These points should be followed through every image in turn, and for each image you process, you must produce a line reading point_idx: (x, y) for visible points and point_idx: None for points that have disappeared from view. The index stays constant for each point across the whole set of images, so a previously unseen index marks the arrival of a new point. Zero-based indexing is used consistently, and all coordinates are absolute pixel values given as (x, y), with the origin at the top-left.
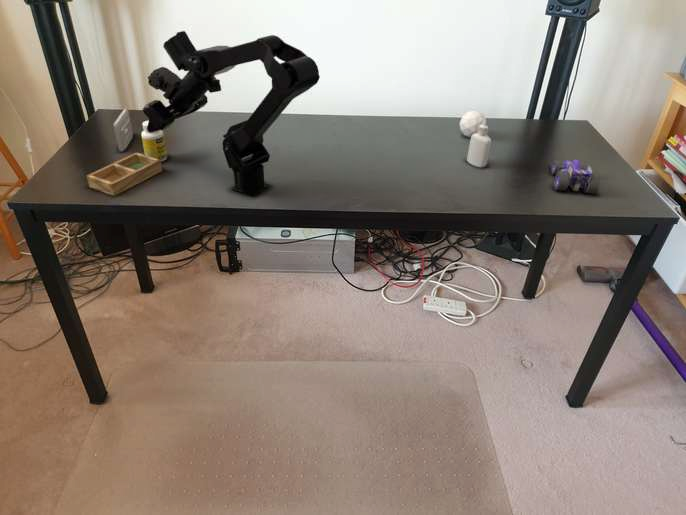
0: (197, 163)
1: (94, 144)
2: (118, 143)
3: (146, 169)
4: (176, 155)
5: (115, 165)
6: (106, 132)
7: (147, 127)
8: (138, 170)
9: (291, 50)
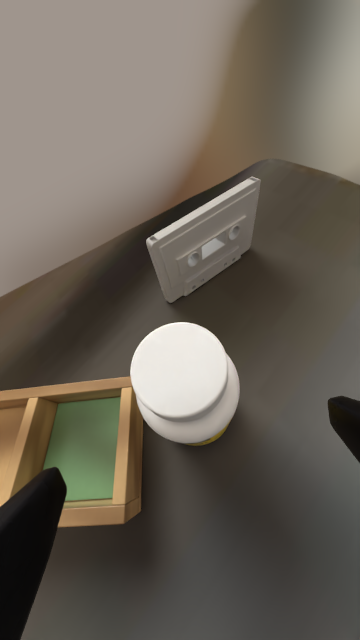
0: (290, 618)
1: None
2: (161, 286)
3: None
4: (262, 441)
5: (26, 406)
6: None
7: (13, 498)
8: None
9: None
